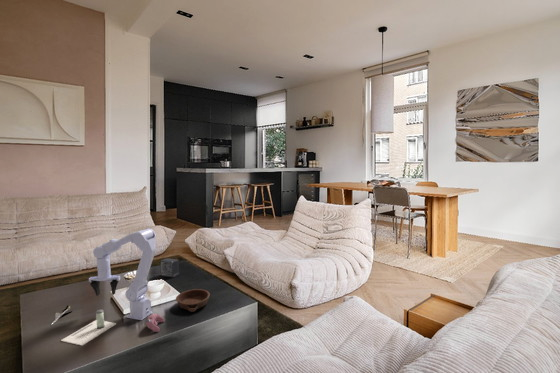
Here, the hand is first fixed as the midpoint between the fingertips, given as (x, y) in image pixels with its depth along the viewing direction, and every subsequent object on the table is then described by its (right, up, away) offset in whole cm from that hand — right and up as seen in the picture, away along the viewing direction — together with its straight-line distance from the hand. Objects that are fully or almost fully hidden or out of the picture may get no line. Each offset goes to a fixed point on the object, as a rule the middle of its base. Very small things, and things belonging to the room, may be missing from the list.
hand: (105, 294), depth 161 cm
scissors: (-22, -11, 0) cm, 24 cm away
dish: (+43, -8, +8) cm, 44 cm away
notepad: (+2, -11, -18) cm, 21 cm away
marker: (+6, -10, -15) cm, 19 cm away
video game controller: (+31, -11, -14) cm, 36 cm away
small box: (+15, -5, +50) cm, 53 cm away
